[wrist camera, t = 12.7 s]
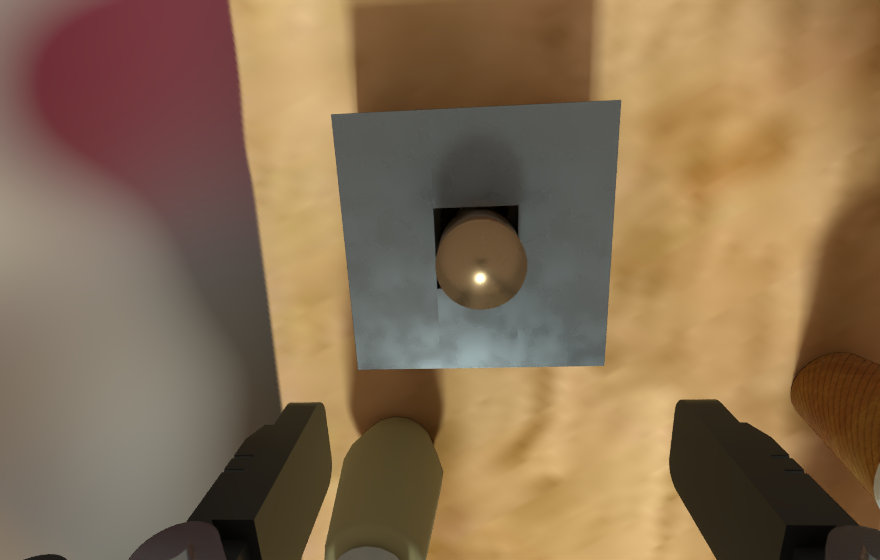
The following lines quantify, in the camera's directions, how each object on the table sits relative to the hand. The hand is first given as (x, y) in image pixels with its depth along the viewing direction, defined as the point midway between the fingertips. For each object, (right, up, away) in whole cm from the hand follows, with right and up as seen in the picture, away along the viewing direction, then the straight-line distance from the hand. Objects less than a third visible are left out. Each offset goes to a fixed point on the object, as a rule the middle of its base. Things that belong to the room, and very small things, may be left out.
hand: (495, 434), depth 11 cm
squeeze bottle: (-5, -11, +31) cm, 33 cm away
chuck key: (+1, +8, +24) cm, 26 cm away
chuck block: (+1, +8, +24) cm, 26 cm away
